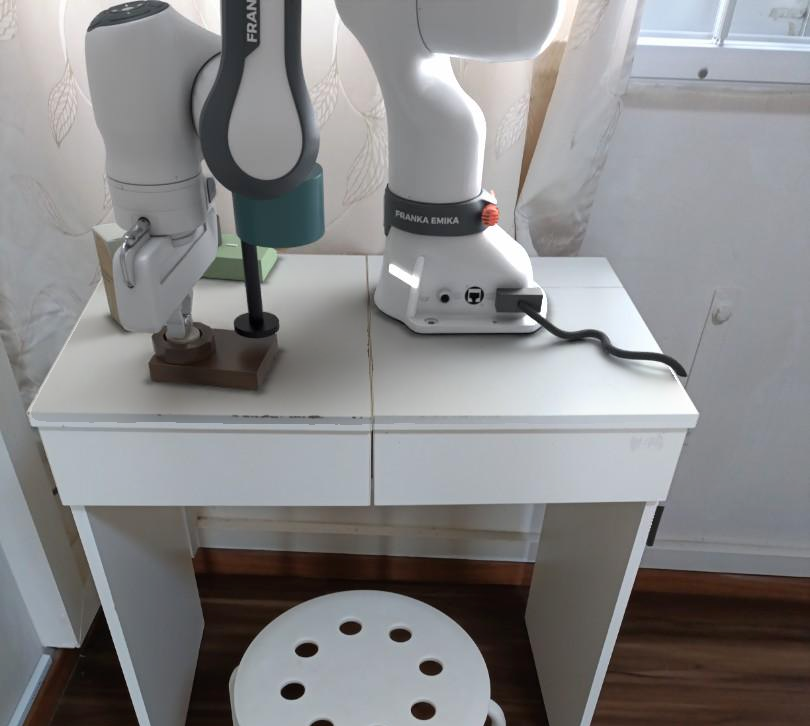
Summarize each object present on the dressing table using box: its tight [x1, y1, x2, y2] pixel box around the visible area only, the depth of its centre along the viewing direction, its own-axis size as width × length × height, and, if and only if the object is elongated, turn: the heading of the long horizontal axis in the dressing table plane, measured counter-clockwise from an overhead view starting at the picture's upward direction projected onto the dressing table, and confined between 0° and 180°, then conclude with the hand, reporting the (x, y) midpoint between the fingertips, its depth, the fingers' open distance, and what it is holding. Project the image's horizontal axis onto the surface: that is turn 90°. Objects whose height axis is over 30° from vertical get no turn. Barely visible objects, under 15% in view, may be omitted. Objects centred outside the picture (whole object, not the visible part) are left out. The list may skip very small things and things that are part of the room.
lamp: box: [231, 161, 326, 338], centre depth 83 cm, size 10×9×17 cm
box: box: [91, 221, 129, 332], centre depth 94 cm, size 5×4×11 cm
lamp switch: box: [166, 326, 200, 344], centre depth 87 cm, size 4×4×2 cm
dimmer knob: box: [216, 213, 222, 247], centre depth 107 cm, size 4×4×4 cm
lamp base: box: [147, 321, 279, 391], centre depth 89 cm, size 12×9×4 cm
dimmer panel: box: [201, 233, 278, 283], centre depth 109 cm, size 13×8×3 cm, turn 83°
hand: (181, 332), depth 87 cm, fingers closed, pressing on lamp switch
